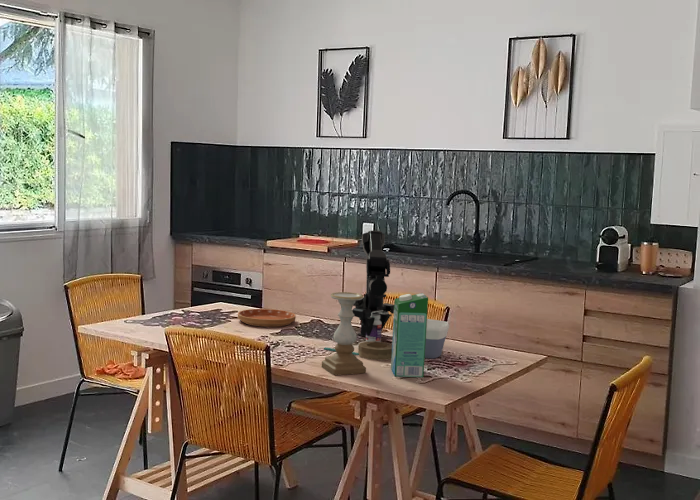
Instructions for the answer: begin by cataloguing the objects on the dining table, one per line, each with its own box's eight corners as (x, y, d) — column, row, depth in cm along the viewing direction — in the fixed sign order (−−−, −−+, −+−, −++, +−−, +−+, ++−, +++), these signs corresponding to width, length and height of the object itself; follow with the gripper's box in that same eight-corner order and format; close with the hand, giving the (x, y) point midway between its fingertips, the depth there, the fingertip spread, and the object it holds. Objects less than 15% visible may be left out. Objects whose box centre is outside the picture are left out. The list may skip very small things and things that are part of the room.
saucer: (264, 314, 337) (264, 306, 337) (307, 323, 324) (307, 314, 323) (225, 322, 319) (225, 312, 318) (269, 331, 305) (269, 321, 305)
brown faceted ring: (374, 349, 283) (374, 339, 282) (401, 356, 275) (401, 346, 274) (351, 354, 274) (351, 344, 273) (378, 361, 266) (379, 351, 265)
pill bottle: (379, 343, 285) (380, 316, 284) (364, 342, 286) (365, 315, 285) (381, 340, 290) (383, 313, 289) (367, 339, 291) (368, 312, 290)
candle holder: (333, 375, 246) (337, 298, 243) (320, 366, 256) (324, 292, 253) (366, 373, 250) (370, 297, 248) (352, 364, 260) (356, 291, 258)
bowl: (450, 352, 284) (452, 321, 283) (441, 362, 270) (443, 329, 268) (408, 347, 289) (410, 316, 288) (396, 356, 275) (398, 324, 273)
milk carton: (390, 369, 257) (394, 291, 254) (418, 369, 258) (423, 292, 255) (394, 376, 248) (398, 296, 245) (423, 377, 249) (428, 297, 246)
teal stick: (361, 355, 274) (361, 353, 274) (360, 355, 273) (360, 353, 273) (325, 349, 280) (325, 347, 280) (324, 349, 279) (324, 347, 279)
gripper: (375, 285, 298) (373, 327, 300) (341, 290, 284) (339, 333, 286) (399, 290, 291) (396, 332, 293) (365, 294, 277) (362, 339, 279)
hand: (373, 334), depth 288 cm, fingers closed on pill bottle, 5 cm apart
